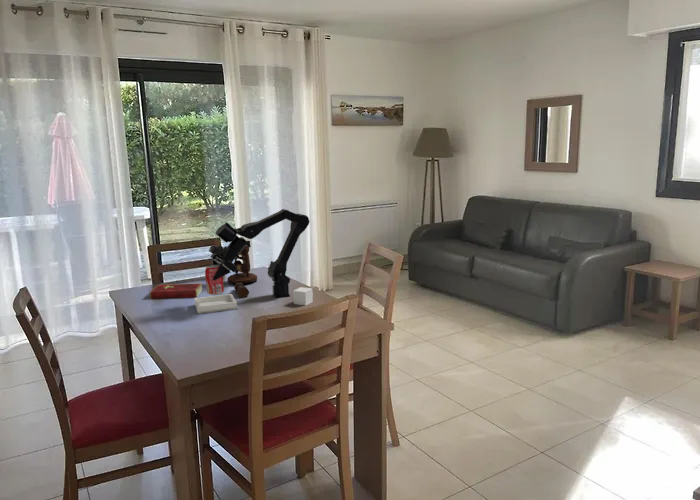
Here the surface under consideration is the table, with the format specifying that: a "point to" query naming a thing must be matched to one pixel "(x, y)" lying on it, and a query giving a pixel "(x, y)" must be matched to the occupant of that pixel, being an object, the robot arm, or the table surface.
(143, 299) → the table surface
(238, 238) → the robot arm
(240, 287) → the bolt
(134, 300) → the table surface
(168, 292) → the hardcover book
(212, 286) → the soda can
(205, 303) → the tray
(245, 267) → the brown round based stand
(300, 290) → the white cube
